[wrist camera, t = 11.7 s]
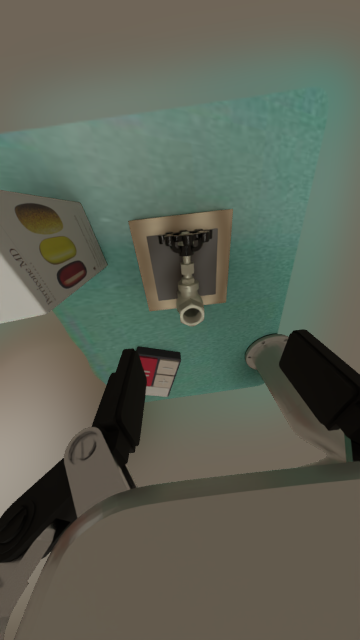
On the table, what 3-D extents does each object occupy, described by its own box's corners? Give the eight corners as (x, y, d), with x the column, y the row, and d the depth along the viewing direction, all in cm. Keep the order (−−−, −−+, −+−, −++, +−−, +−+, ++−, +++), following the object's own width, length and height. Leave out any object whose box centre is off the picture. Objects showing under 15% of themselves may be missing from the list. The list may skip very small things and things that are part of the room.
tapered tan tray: (224, 209, 24) (233, 209, 21) (219, 293, 32) (226, 303, 29) (133, 220, 24) (127, 221, 21) (151, 301, 32) (149, 312, 29)
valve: (206, 304, 28) (206, 227, 22) (215, 325, 23) (219, 231, 16) (169, 308, 28) (159, 232, 22) (170, 330, 23) (156, 238, 16)
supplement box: (109, 266, 28) (51, 318, 14) (60, 277, 28) (-44, 338, 14) (79, 199, 23) (-63, 175, 9) (20, 214, 23) (-208, 214, 9)
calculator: (181, 361, 38) (168, 399, 45) (180, 349, 42) (168, 386, 49) (135, 355, 36) (129, 396, 43) (138, 343, 40) (131, 382, 47)
